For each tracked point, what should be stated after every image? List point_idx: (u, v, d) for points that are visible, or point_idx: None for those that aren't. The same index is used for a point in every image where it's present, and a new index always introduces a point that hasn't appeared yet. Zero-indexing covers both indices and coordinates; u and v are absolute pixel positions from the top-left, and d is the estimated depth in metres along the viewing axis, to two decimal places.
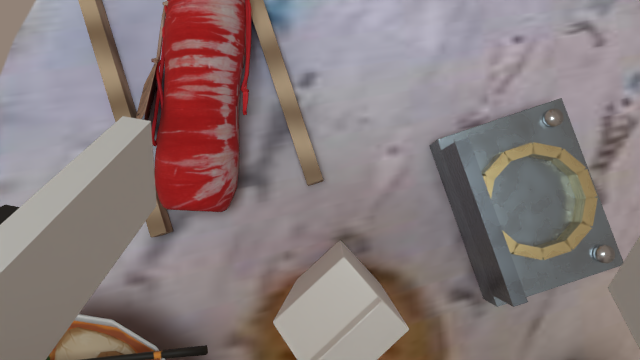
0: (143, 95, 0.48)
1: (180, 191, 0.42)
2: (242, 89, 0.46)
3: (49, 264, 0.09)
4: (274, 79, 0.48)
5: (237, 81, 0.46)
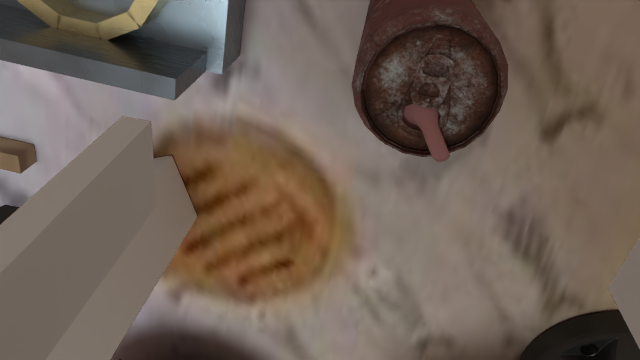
0: None
1: None
2: None
3: (49, 264, 0.09)
4: None
5: None
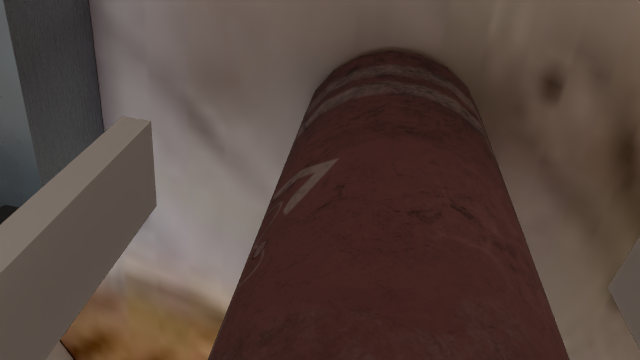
0: None
1: None
2: None
3: (49, 265, 0.09)
4: None
5: None
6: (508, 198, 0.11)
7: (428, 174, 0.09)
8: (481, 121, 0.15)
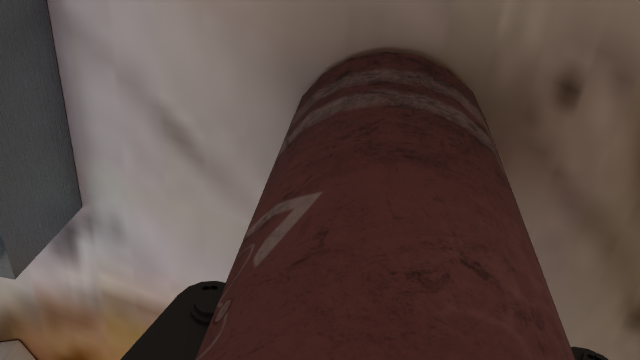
0: None
1: None
2: None
3: None
4: None
5: None
6: (525, 233, 0.09)
7: (431, 217, 0.07)
8: (489, 132, 0.13)
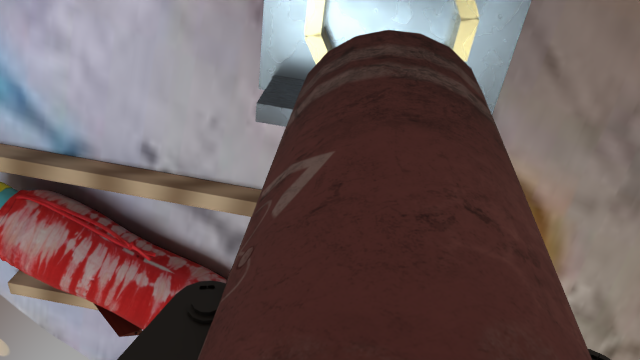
0: None
1: None
2: (128, 248, 0.43)
3: None
4: (135, 194, 0.43)
5: (119, 248, 0.44)
6: (522, 193, 0.10)
7: (437, 170, 0.08)
8: (487, 106, 0.14)
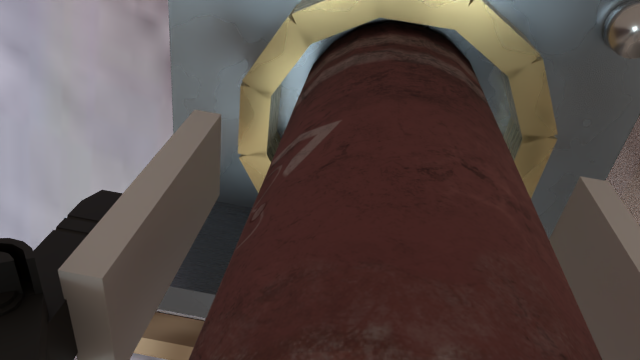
0: None
1: None
2: None
3: (153, 243, 0.10)
4: None
5: None
6: None
7: (436, 135, 0.09)
8: None
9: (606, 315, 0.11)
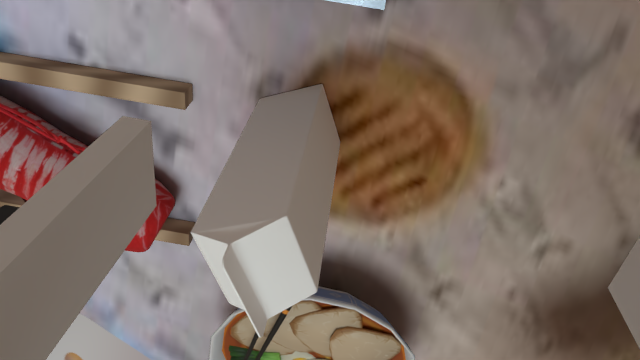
0: None
1: (131, 244, 0.45)
2: (57, 141, 0.43)
3: (49, 264, 0.09)
4: (63, 87, 0.43)
5: (47, 142, 0.43)
6: None
7: None
8: None
9: None
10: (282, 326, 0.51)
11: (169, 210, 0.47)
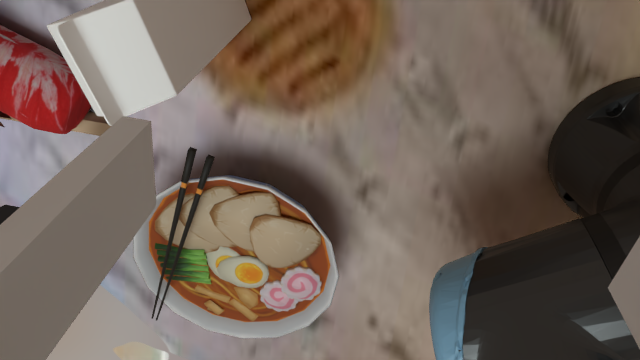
0: None
1: (43, 119, 0.46)
2: None
3: (49, 264, 0.09)
4: None
5: None
6: None
7: None
8: None
9: None
10: (202, 216, 0.51)
11: None
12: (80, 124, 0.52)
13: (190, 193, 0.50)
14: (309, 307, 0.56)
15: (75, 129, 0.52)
